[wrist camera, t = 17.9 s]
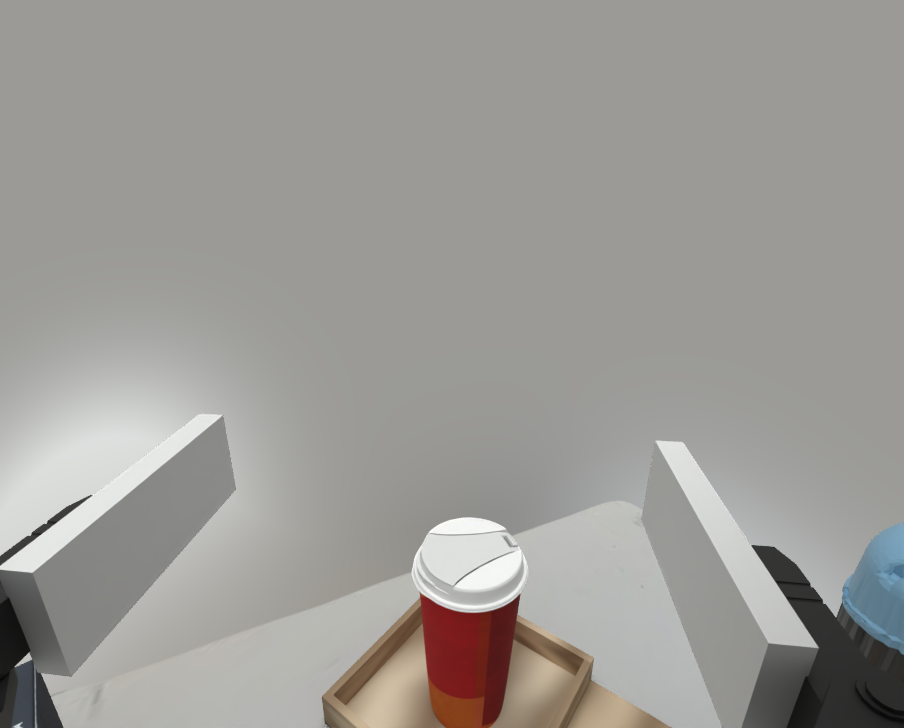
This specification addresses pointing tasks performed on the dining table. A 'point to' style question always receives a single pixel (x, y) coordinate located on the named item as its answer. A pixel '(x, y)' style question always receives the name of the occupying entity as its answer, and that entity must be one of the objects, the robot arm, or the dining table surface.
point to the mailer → (526, 697)
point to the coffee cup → (469, 617)
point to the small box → (33, 701)
